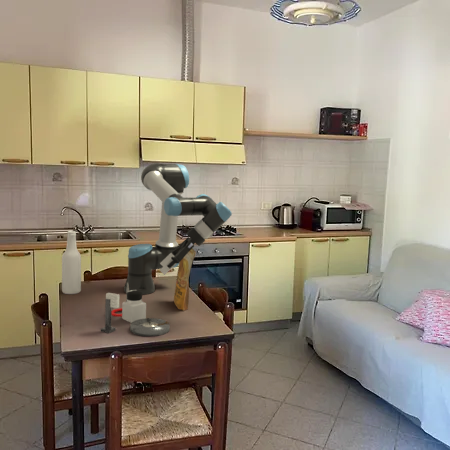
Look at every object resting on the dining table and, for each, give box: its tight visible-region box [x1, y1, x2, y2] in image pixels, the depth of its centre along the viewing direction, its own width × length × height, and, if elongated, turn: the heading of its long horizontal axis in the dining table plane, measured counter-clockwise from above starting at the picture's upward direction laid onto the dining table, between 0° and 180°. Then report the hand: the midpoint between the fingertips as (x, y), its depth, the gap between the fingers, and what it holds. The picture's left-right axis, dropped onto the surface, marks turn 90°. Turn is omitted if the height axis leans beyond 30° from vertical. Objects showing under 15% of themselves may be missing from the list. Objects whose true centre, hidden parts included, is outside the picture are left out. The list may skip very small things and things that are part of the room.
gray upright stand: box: [100, 292, 120, 334], centre depth 177 cm, size 4×6×14 cm, turn 67°
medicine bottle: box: [121, 290, 147, 324], centre depth 192 cm, size 7×7×12 cm
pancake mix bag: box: [173, 247, 197, 311], centre depth 213 cm, size 7×19×28 cm, turn 17°
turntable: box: [129, 317, 171, 337], centre depth 182 cm, size 15×15×2 cm
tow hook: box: [111, 283, 129, 318], centre depth 199 cm, size 8×13×9 cm
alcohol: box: [61, 230, 82, 295], centre depth 227 cm, size 9×9×30 cm
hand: (162, 269), depth 191 cm, fingers open, 13 cm apart
